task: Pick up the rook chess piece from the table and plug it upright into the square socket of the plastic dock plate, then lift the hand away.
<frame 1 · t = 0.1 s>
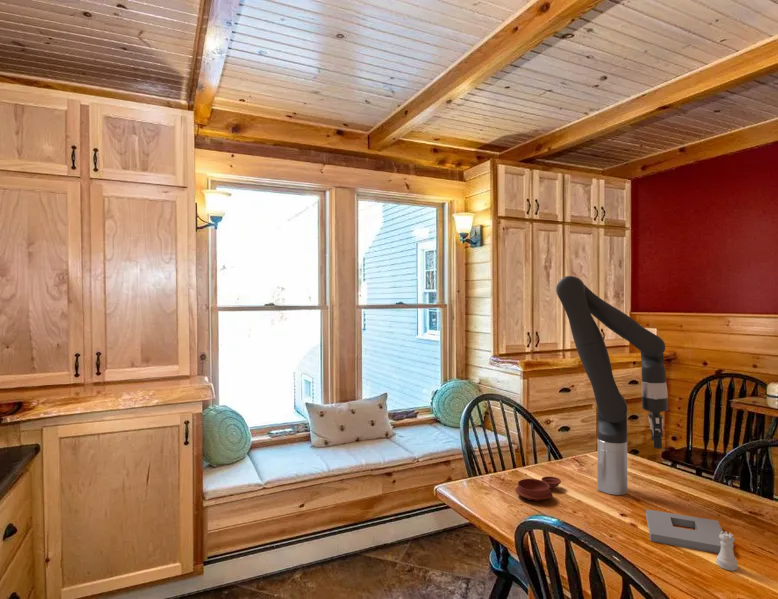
hand: (656, 444, 156), 17 cm above the table, tool pointing down, fingers open, 8 cm apart
rook chess piece: (727, 567, 116), on the table
socket dock: (684, 534, 132), on the table
pottery: (540, 494, 159), on the table
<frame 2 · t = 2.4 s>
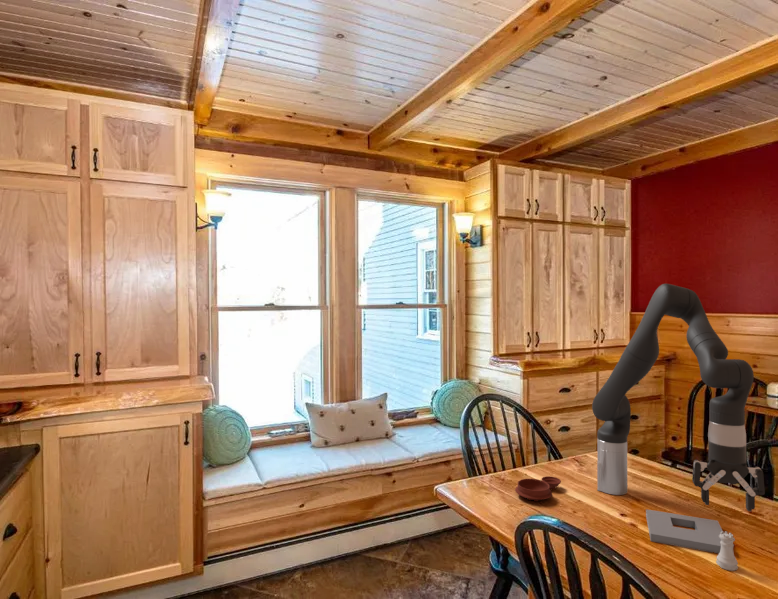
hand: (727, 507, 116), 15 cm above the table, tool pointing down, fingers open, 8 cm apart
nothing on the table moved.
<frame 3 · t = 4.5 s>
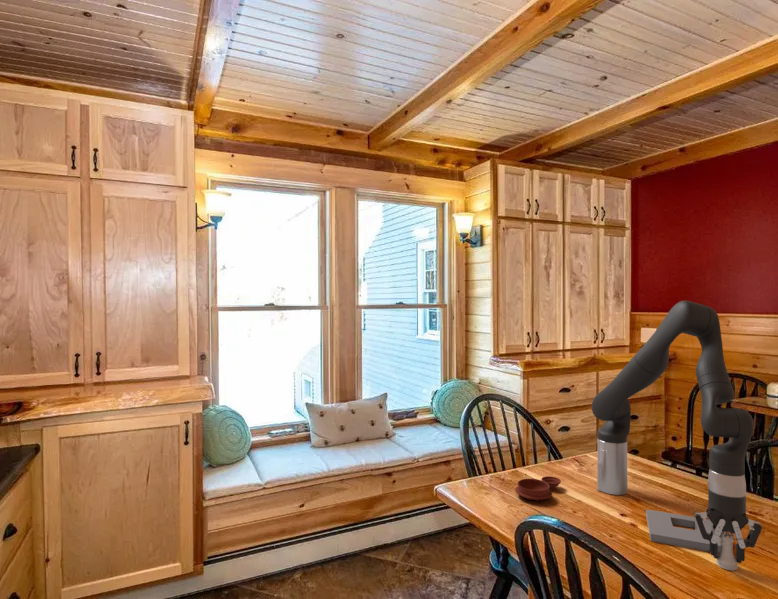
hand: (726, 558, 116), 2 cm above the table, tool pointing down, fingers closed on rook chess piece, 4 cm apart
rook chess piece: (727, 567, 116), on the table, touching gripper
everything else where it was.
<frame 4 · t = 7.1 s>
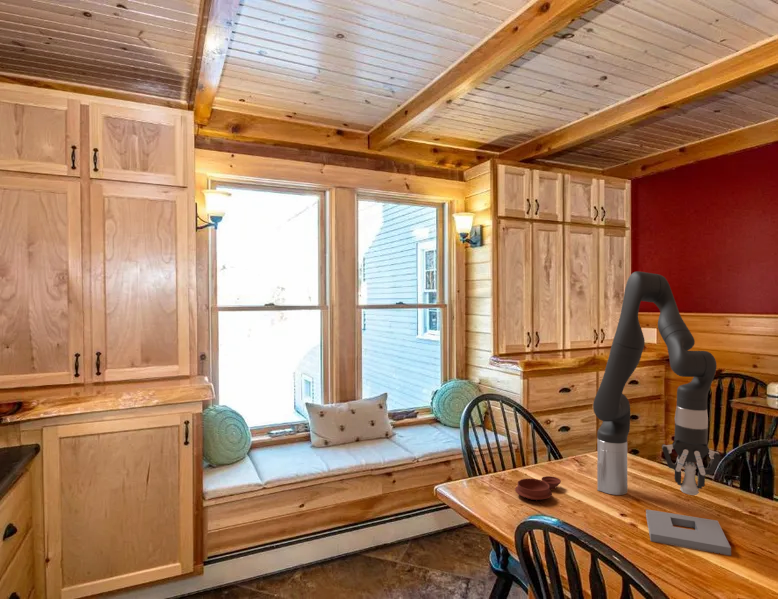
hand: (689, 485, 130), 14 cm above the table, tool pointing down, fingers closed on rook chess piece, 4 cm apart
rook chess piece: (689, 492, 130), point 12 cm above the table, touching gripper
everything else where it was.
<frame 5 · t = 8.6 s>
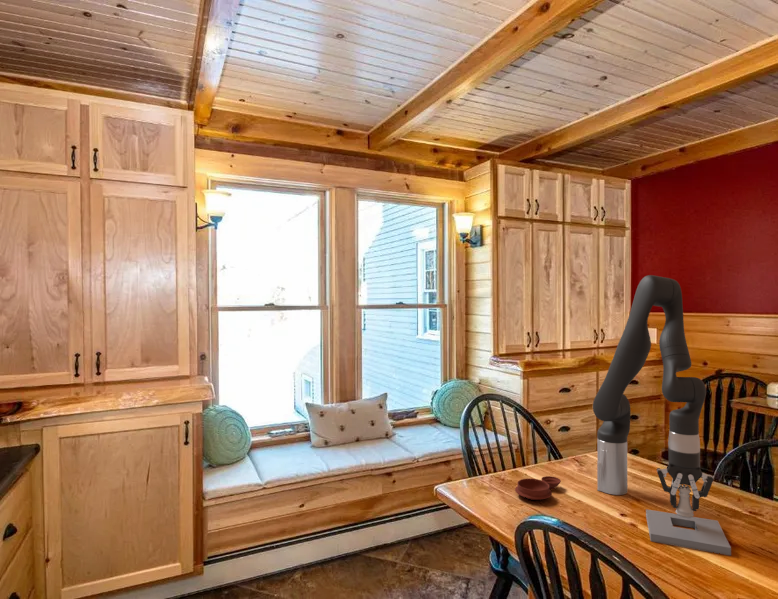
hand: (684, 508, 133), 6 cm above the table, tool pointing down, fingers closed on rook chess piece, 4 cm apart
rook chess piece: (684, 515, 133), point 4 cm above the table, touching gripper
everything else where it was.
when the fingers open (3 cm above the table, at t = 9.6 s): rook chess piece drops 1 cm, resting in socket dock.
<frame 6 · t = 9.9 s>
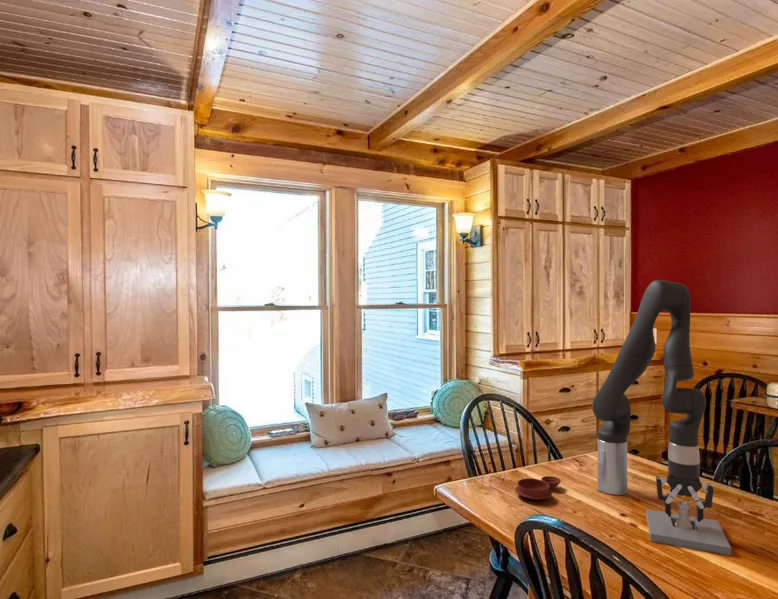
hand: (683, 517, 133), 4 cm above the table, tool pointing down, fingers open, 6 cm apart
rook chess piece: (683, 531, 134), resting in socket dock
everything else where it was.
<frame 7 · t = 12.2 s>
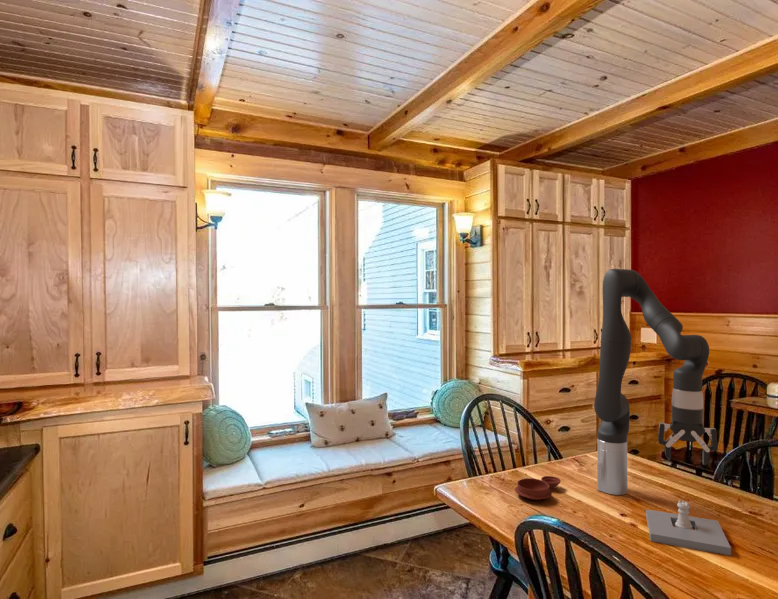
hand: (686, 461, 135), 19 cm above the table, tool pointing down, fingers open, 8 cm apart
nothing on the table moved.
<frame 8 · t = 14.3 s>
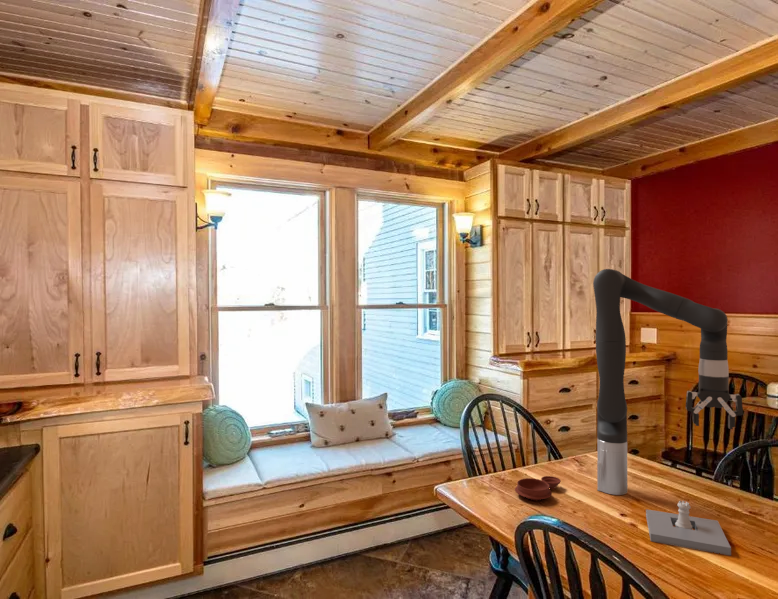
hand: (713, 426, 145), 26 cm above the table, tool pointing down, fingers open, 8 cm apart
nothing on the table moved.
at the end: rook chess piece 0.0 cm from the target spot on the socket dock, point 0.0 cm above the socket dock's base; rook chess piece tilted 0°; the gripper is holding nothing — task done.
